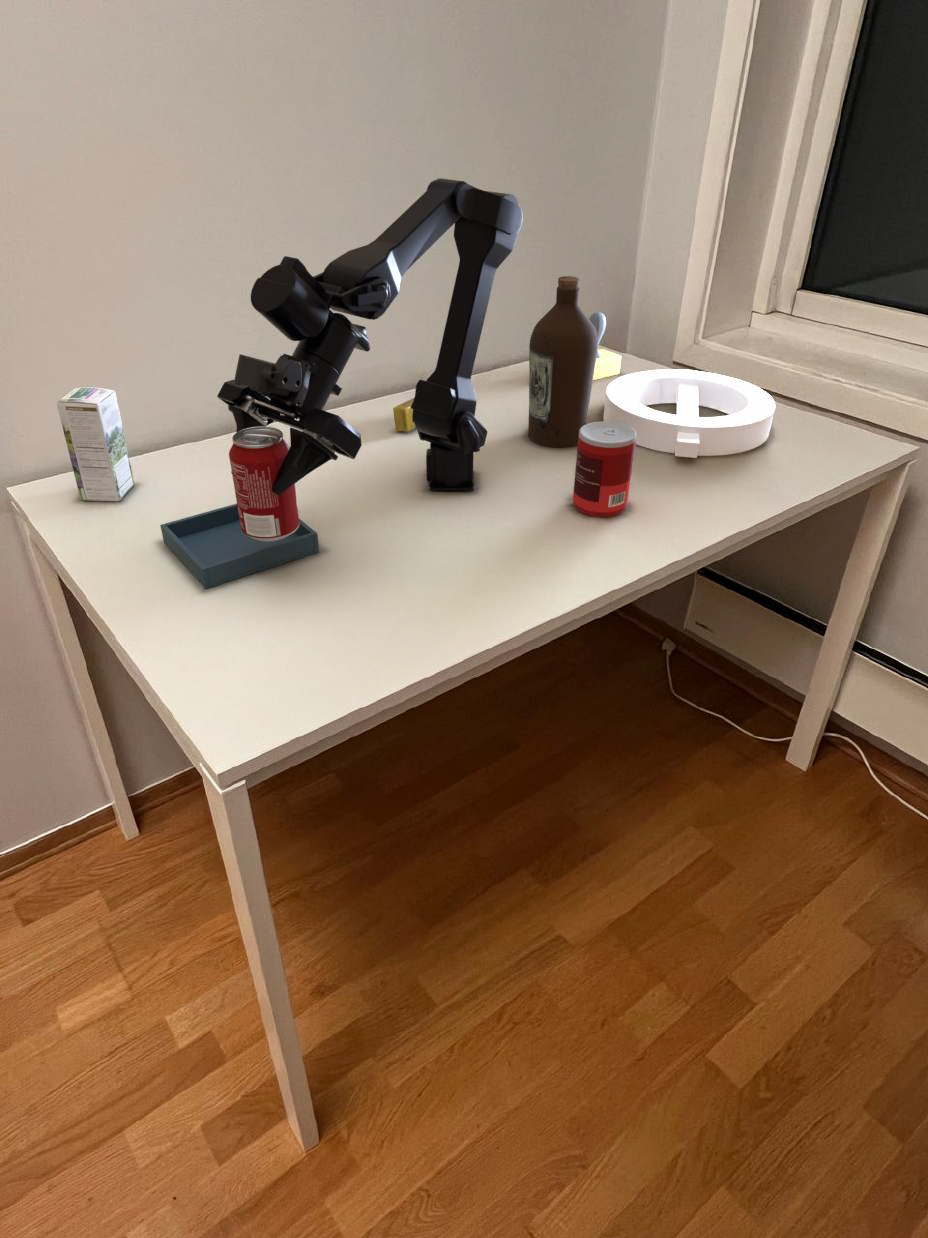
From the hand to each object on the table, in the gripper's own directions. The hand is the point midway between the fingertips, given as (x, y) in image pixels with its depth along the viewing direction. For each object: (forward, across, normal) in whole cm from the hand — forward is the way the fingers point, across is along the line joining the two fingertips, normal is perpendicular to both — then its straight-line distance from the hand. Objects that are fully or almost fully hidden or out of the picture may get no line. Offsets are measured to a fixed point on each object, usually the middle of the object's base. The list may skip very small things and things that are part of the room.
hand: (254, 484), depth 95 cm
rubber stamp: (-55, -10, +74) cm, 92 cm away
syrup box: (+9, -35, +9) cm, 37 cm away
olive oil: (-33, +2, +51) cm, 61 cm away
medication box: (-26, -20, +44) cm, 55 cm away
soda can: (+4, 0, +6) cm, 7 cm away
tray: (+7, -8, +10) cm, 15 cm away
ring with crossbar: (-47, +16, +66) cm, 82 cm away
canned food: (-21, +21, +39) cm, 49 cm away
